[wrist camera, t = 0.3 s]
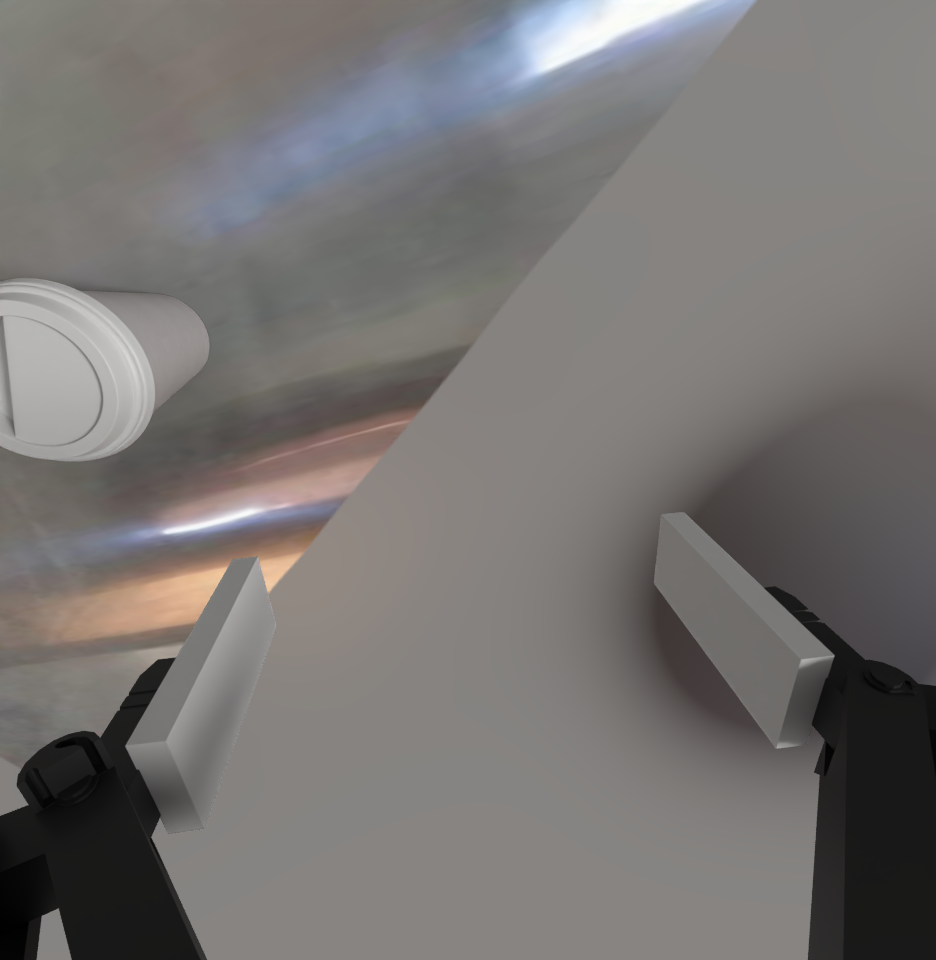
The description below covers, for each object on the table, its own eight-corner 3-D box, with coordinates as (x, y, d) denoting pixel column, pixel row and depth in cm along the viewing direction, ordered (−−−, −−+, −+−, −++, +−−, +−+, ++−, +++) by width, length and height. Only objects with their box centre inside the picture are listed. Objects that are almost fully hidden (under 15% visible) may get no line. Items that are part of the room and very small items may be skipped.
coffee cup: (125, 241, 36) (-51, 233, 22) (253, 322, 39) (167, 359, 25) (74, 355, 38) (-111, 410, 25) (198, 422, 41) (94, 505, 28)
